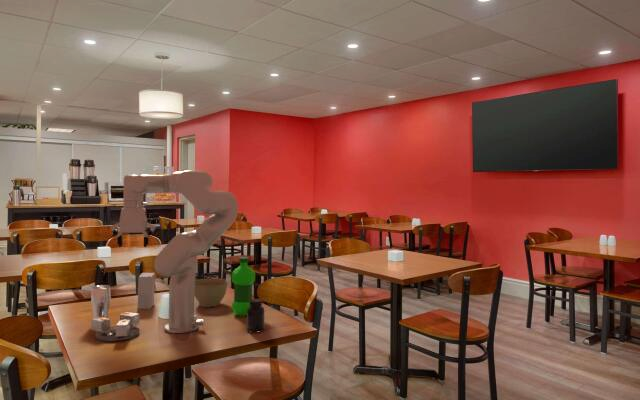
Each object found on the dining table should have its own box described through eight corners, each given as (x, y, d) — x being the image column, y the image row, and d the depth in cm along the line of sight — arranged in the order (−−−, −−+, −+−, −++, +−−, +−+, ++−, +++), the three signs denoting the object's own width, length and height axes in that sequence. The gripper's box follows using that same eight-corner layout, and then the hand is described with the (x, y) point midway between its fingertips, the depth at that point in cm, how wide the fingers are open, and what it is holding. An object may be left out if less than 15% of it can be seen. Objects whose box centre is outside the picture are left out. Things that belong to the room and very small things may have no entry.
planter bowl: (232, 301, 220) (233, 279, 220) (217, 310, 204) (218, 286, 204) (202, 299, 224) (202, 277, 223) (185, 307, 208) (185, 284, 208)
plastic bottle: (250, 318, 194) (251, 260, 193) (227, 316, 196) (228, 258, 195) (257, 312, 204) (259, 256, 203) (235, 310, 205) (236, 255, 204)
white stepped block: (132, 328, 173) (132, 315, 172) (119, 326, 175) (120, 313, 174) (139, 326, 176) (139, 313, 176) (126, 324, 178) (126, 311, 178)
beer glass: (102, 327, 178) (102, 289, 177) (86, 326, 179) (87, 288, 178) (114, 322, 184) (114, 285, 184) (98, 320, 186) (99, 284, 185)
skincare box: (141, 304, 212) (141, 272, 211) (155, 304, 213) (155, 272, 212) (137, 309, 203) (137, 276, 203) (151, 309, 204) (151, 276, 204)
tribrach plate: (146, 329, 177) (146, 324, 177) (127, 343, 162) (127, 337, 162) (109, 327, 178) (109, 322, 178) (86, 341, 163) (86, 335, 163)
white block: (99, 328, 172) (99, 315, 171) (110, 331, 169) (110, 318, 168) (91, 331, 168) (91, 317, 168) (101, 334, 166) (101, 320, 165)
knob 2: (115, 338, 162) (115, 324, 162) (119, 333, 168) (119, 319, 167) (126, 338, 163) (126, 324, 162) (130, 332, 168) (130, 319, 168)
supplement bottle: (257, 326, 184) (257, 297, 183) (267, 330, 179) (268, 300, 178) (243, 330, 179) (243, 299, 178) (253, 334, 174) (254, 303, 174)
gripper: (157, 204, 192) (156, 245, 193) (113, 204, 189) (112, 245, 190) (153, 205, 185) (153, 247, 186) (108, 205, 182) (108, 247, 182)
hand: (133, 246), depth 188 cm, fingers open, 9 cm apart
